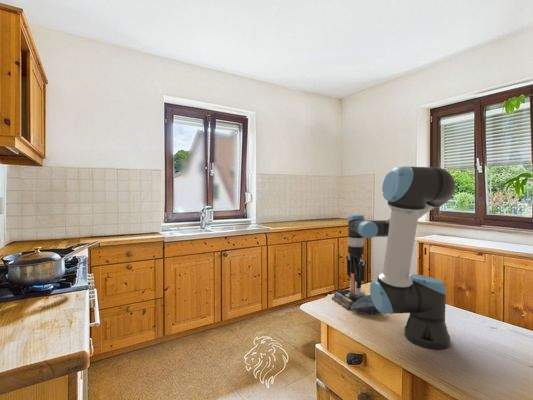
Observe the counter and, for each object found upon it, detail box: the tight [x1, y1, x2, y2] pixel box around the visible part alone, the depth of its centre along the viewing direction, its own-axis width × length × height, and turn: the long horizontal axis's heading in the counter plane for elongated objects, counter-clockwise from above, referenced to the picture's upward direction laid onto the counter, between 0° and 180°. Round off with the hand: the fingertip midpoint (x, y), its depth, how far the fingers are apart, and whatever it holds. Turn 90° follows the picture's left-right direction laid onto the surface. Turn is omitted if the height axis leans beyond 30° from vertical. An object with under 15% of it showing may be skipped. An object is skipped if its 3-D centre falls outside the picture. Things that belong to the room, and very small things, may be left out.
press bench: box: [331, 288, 367, 311], centre depth 142 cm, size 14×16×4 cm
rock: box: [351, 294, 379, 316], centre depth 131 cm, size 16×8×10 cm
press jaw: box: [345, 272, 366, 303], centre depth 140 cm, size 4×9×14 cm, turn 107°
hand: (355, 292), depth 140 cm, fingers closed on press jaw, 3 cm apart
